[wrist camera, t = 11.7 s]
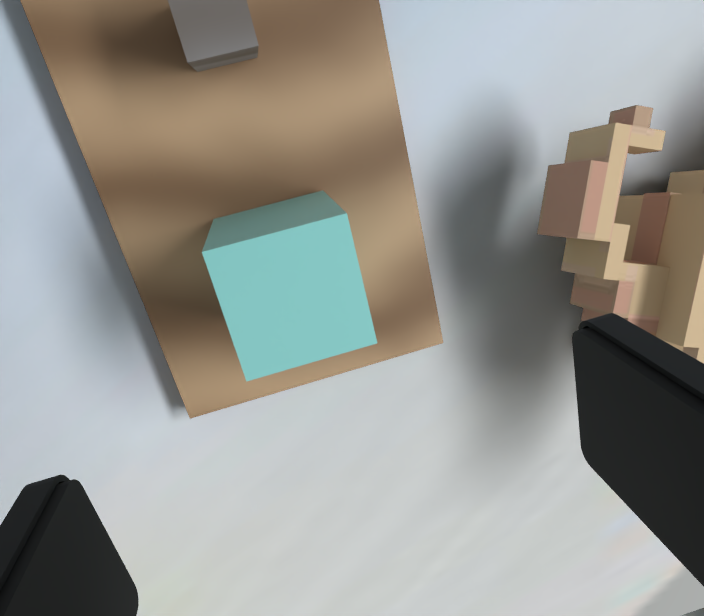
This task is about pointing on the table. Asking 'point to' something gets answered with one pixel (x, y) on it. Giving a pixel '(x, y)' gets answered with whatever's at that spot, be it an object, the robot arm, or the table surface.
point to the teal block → (289, 284)
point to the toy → (629, 233)
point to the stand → (240, 158)
